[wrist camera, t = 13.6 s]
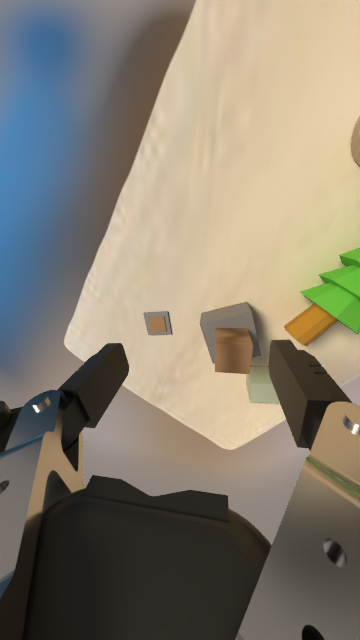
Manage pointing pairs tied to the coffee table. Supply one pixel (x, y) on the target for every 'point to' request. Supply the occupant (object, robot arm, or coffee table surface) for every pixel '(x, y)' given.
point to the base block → (228, 325)
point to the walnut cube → (233, 350)
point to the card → (157, 323)
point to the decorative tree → (331, 302)
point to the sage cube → (261, 386)
